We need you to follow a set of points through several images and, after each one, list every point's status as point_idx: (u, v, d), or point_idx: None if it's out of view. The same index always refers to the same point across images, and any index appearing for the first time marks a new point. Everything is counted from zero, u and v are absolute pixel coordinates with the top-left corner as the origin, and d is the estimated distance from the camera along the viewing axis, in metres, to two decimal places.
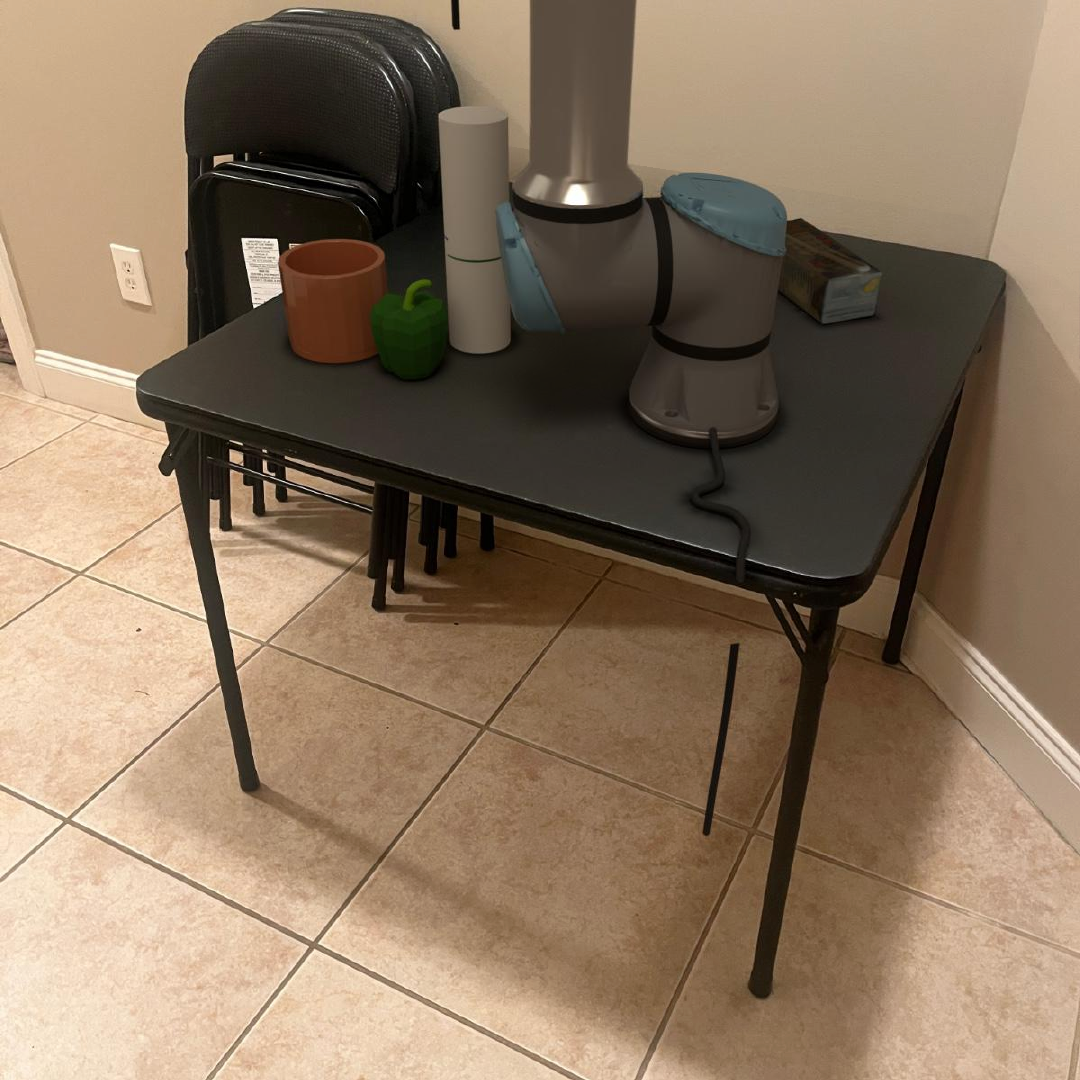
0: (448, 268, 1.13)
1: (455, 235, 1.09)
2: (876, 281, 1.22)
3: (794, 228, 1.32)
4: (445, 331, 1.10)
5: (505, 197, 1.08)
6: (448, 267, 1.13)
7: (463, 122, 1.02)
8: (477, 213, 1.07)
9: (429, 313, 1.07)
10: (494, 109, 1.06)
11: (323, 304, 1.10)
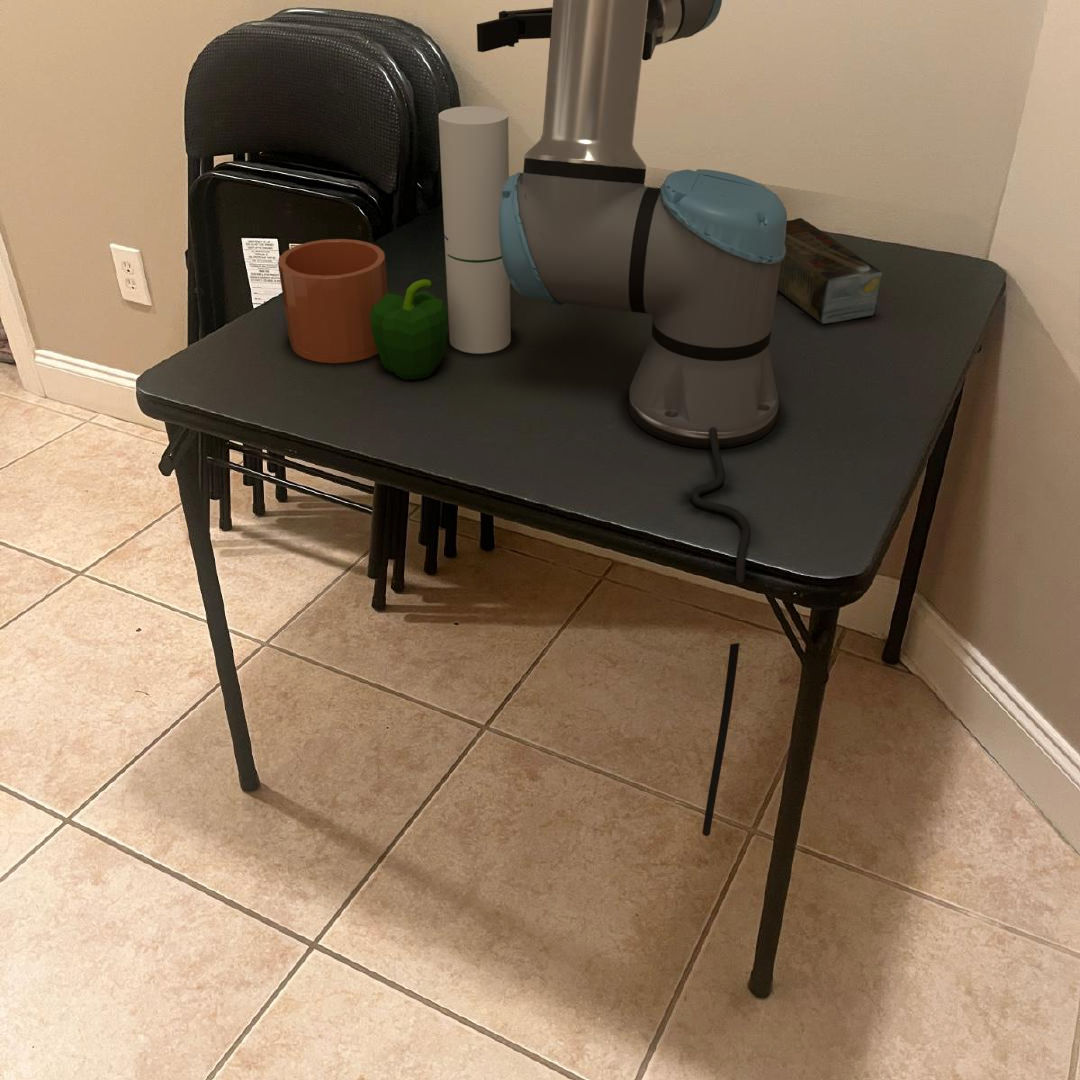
0: (448, 268, 1.13)
1: (455, 235, 1.09)
2: (876, 281, 1.22)
3: (794, 228, 1.32)
4: (445, 331, 1.10)
5: None
6: (448, 267, 1.13)
7: (463, 122, 1.02)
8: (477, 213, 1.07)
9: (429, 313, 1.07)
10: (494, 109, 1.06)
11: (323, 304, 1.10)
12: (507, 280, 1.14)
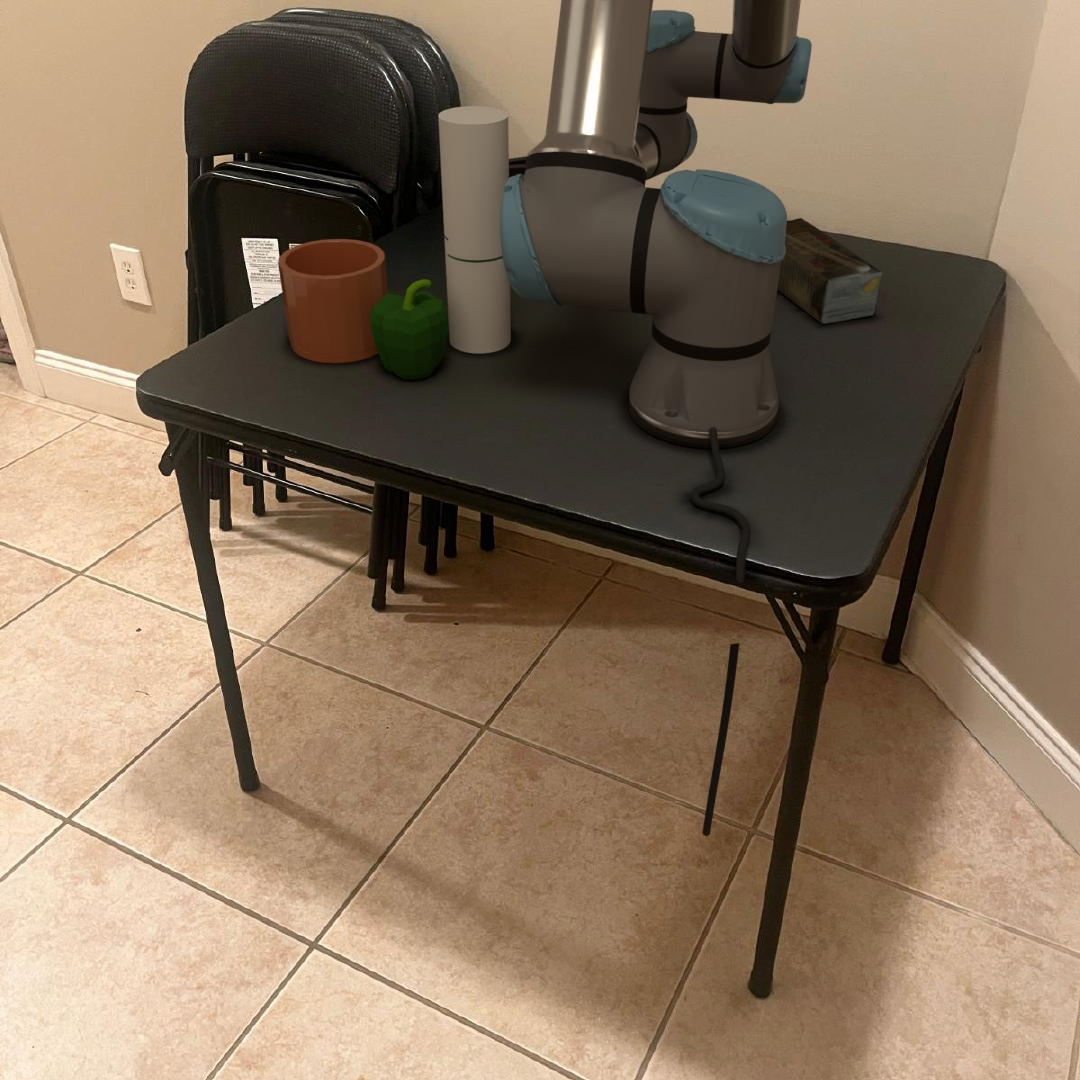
0: (448, 268, 1.13)
1: (455, 235, 1.09)
2: (876, 281, 1.22)
3: (794, 228, 1.32)
4: (445, 331, 1.10)
5: None
6: (448, 267, 1.13)
7: (463, 122, 1.02)
8: (477, 213, 1.07)
9: (429, 313, 1.07)
10: (494, 109, 1.06)
11: (323, 304, 1.10)
12: (507, 280, 1.14)
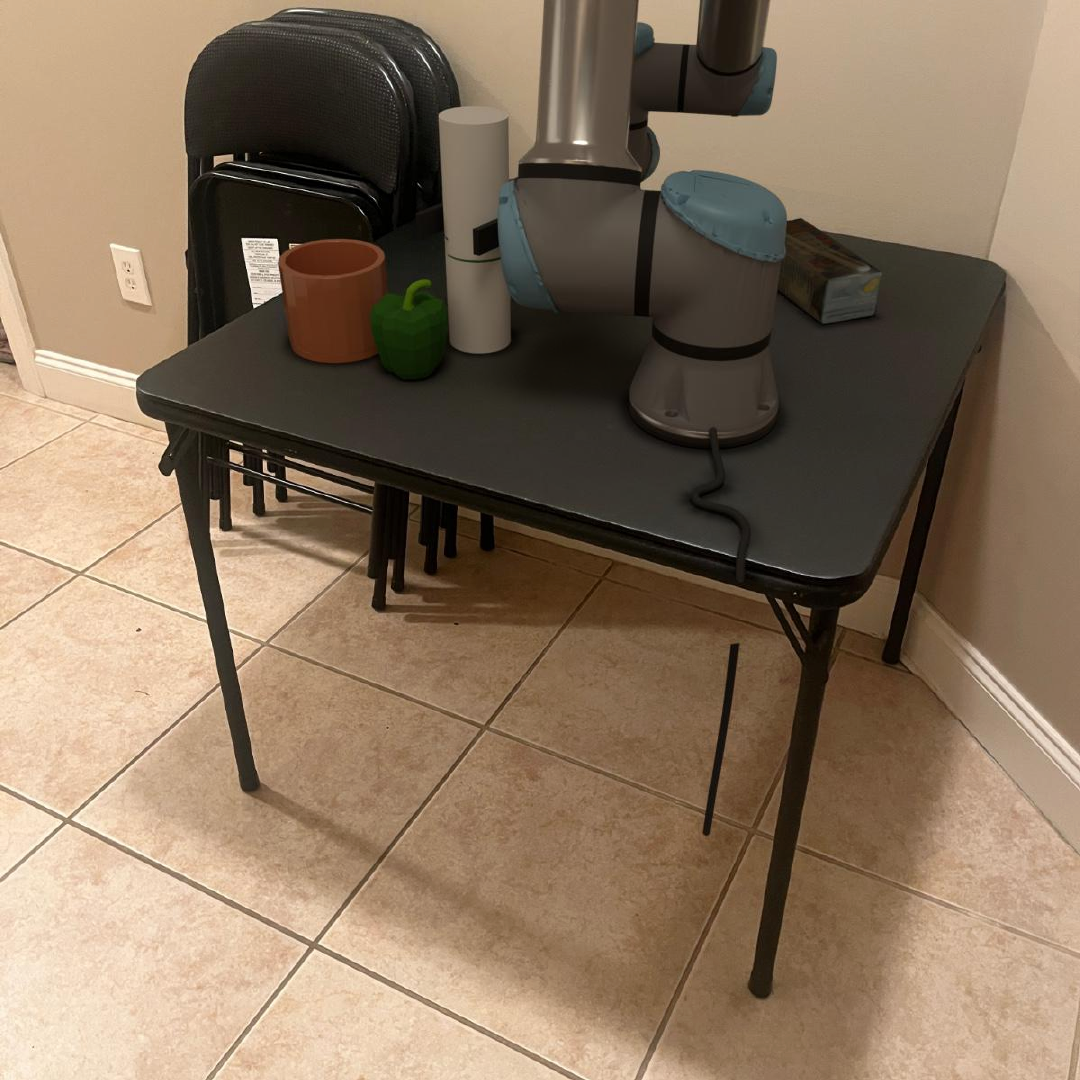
0: (448, 268, 1.13)
1: (455, 235, 1.09)
2: (876, 281, 1.22)
3: (794, 228, 1.32)
4: (445, 331, 1.10)
5: None
6: (448, 267, 1.13)
7: (463, 122, 1.02)
8: (477, 213, 1.07)
9: (429, 313, 1.07)
10: (494, 109, 1.06)
11: (323, 304, 1.10)
12: None
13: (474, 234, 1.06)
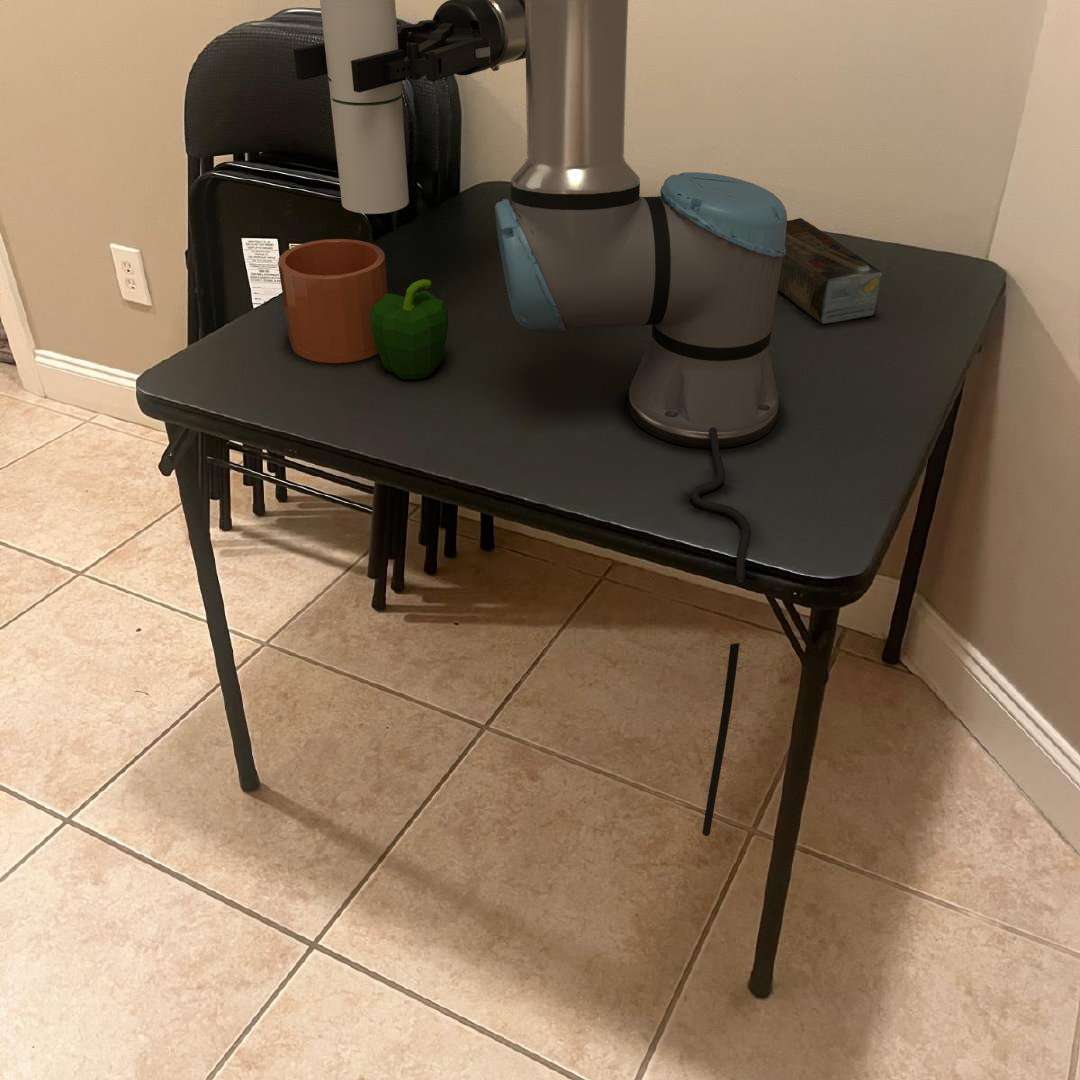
0: (333, 115, 1.03)
1: (337, 74, 1.00)
2: (876, 281, 1.22)
3: (794, 228, 1.32)
4: (445, 331, 1.10)
5: (391, 30, 0.98)
6: (333, 114, 1.03)
7: None
8: (359, 46, 0.97)
9: (429, 313, 1.07)
10: None
11: (323, 304, 1.10)
12: (399, 130, 1.04)
13: (353, 67, 0.96)
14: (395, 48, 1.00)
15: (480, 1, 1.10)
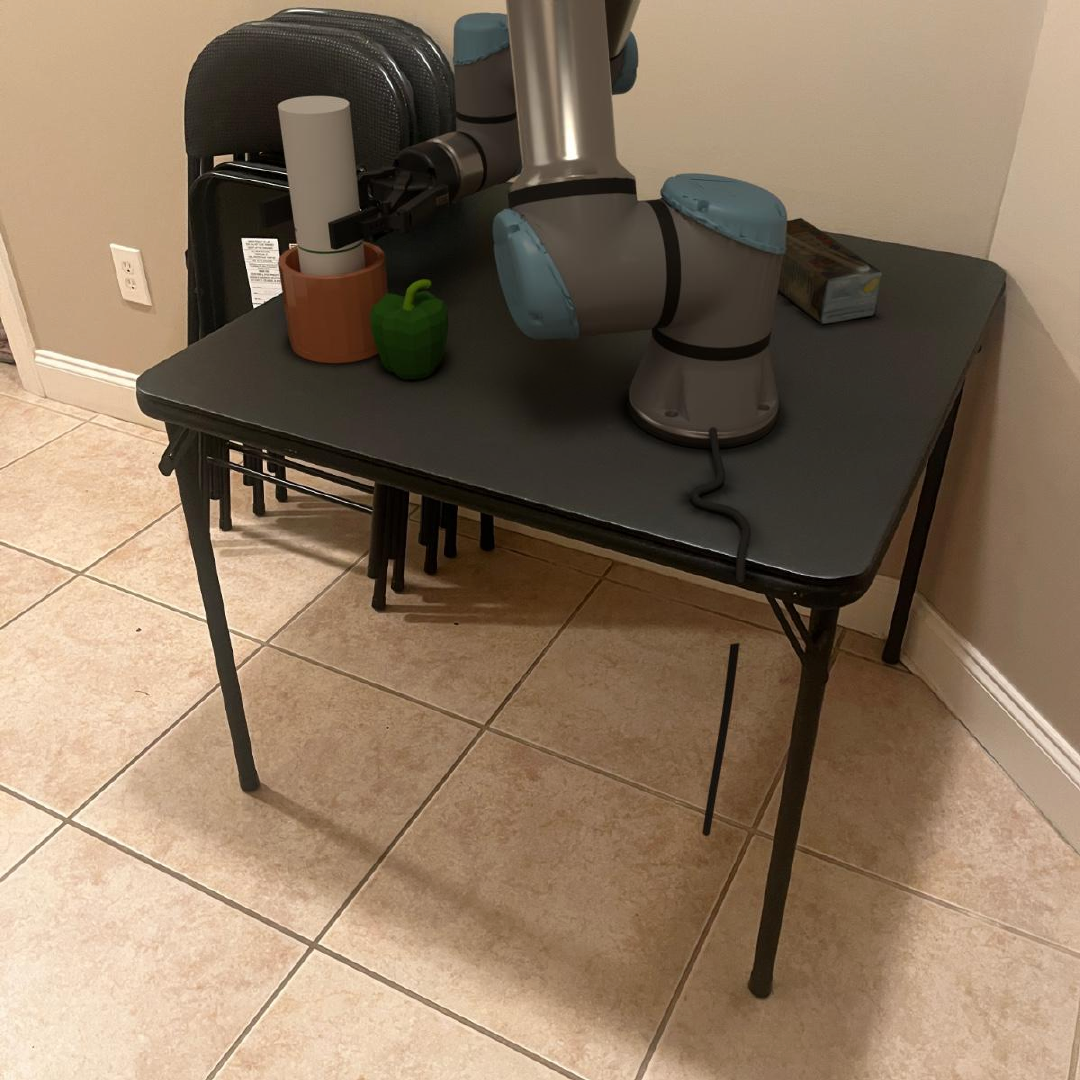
0: (300, 259, 1.12)
1: (302, 226, 1.08)
2: (876, 281, 1.22)
3: (794, 228, 1.32)
4: (445, 331, 1.10)
5: (351, 187, 1.07)
6: (300, 258, 1.12)
7: (299, 111, 1.01)
8: (321, 204, 1.06)
9: (429, 313, 1.07)
10: (337, 99, 1.05)
11: (323, 304, 1.10)
12: None
13: (330, 228, 1.05)
14: (355, 202, 1.09)
15: (437, 148, 1.18)
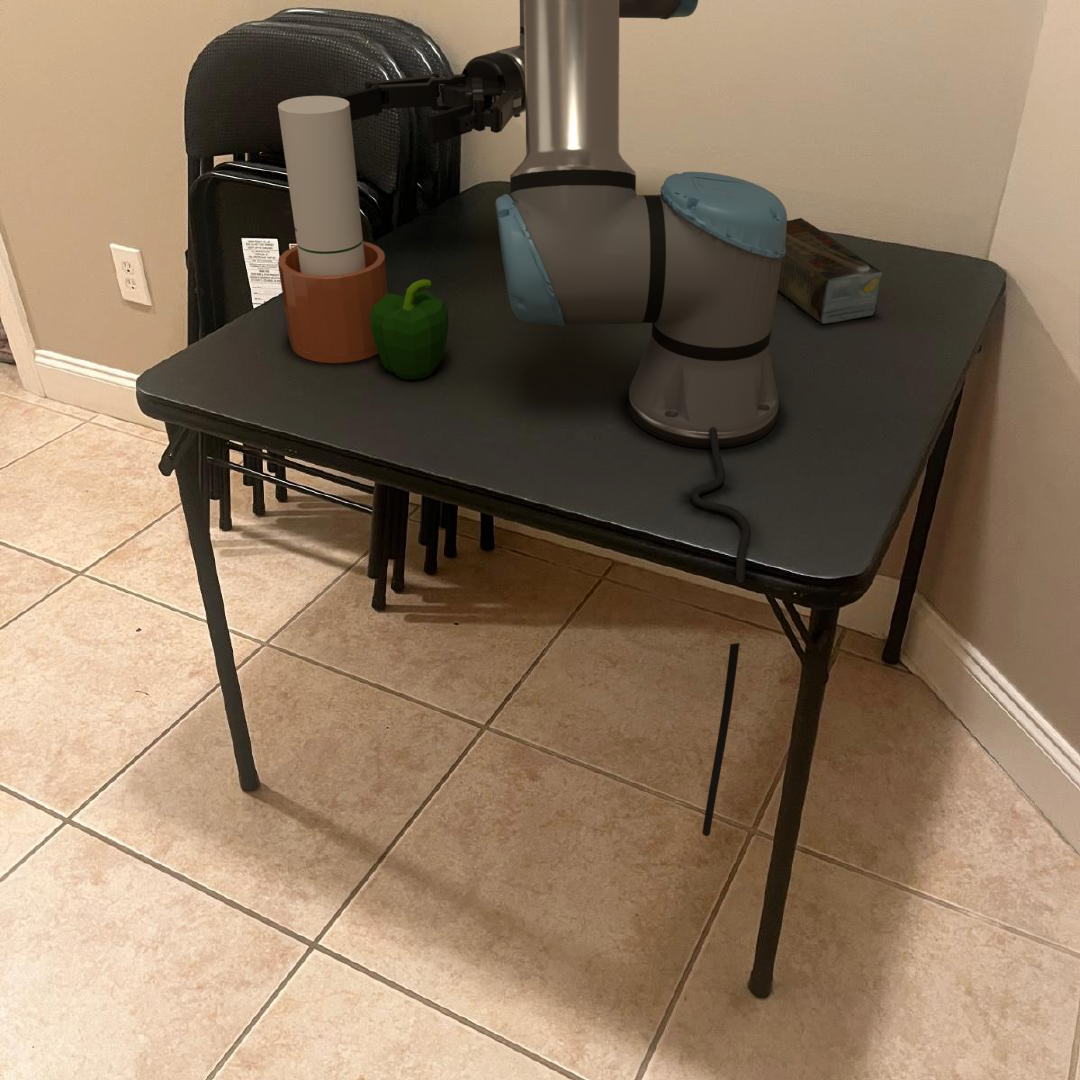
0: (300, 259, 1.12)
1: (302, 226, 1.08)
2: (876, 281, 1.22)
3: (794, 228, 1.32)
4: (445, 331, 1.10)
5: (351, 187, 1.07)
6: (300, 258, 1.12)
7: (299, 111, 1.01)
8: (321, 204, 1.06)
9: (429, 313, 1.07)
10: (337, 99, 1.05)
11: (323, 304, 1.10)
12: None
13: (428, 121, 1.08)
14: (355, 202, 1.09)
15: (505, 57, 1.22)
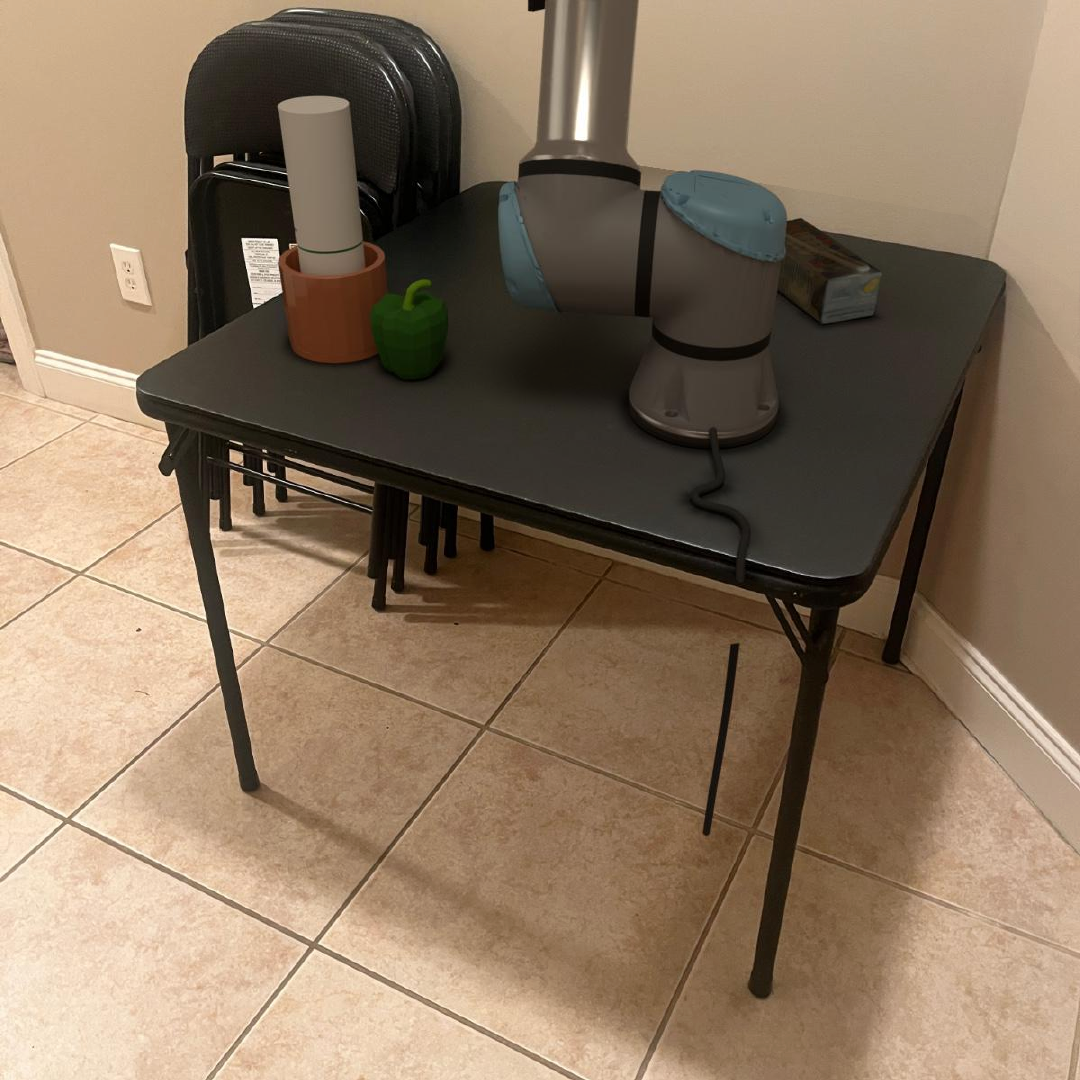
0: (300, 259, 1.12)
1: (302, 226, 1.08)
2: (876, 281, 1.22)
3: (794, 228, 1.32)
4: (445, 331, 1.10)
5: (351, 187, 1.07)
6: (300, 258, 1.12)
7: (299, 111, 1.01)
8: (321, 204, 1.06)
9: (429, 313, 1.07)
10: (337, 99, 1.05)
11: (323, 304, 1.10)
12: None
13: None
14: (355, 202, 1.09)
15: None
